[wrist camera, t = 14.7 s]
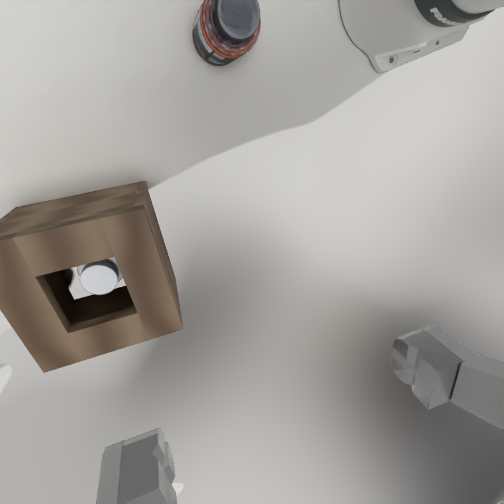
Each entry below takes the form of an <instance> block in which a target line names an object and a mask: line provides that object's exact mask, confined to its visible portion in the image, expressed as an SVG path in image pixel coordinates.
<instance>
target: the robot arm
mask: <svg viewBox="0 0 504 504" xmlns="http://www.w3.org/2000/svg"><path fill="white" fill-rule="evenodd" d="M339 1H340V10H341V16H342V20H343V23H344V26H345V29H346V31H347V33H348V35H349V37H350V38H351V40H352V41H353V42H354V44H355V45H356V46H357V47H358V48H360V49H361V50H362V51H363V52H365V53H366V54H367V55H368V57H369V59H370V61H371V63H372V65H373V67H374V69H375V70H376V71H377V72H378V73H383V72H386V71H389V70H391V69H393V68H396V67H398V66H400V65H403V64H405V63H408V62H410V61H412V60H415V59H417V58H420V57H422V56H425V55H427V54H430V53H432V52H434V51H437V50H439V49H441V48H444V47H446V46H449V45H451V44H454V43H456V42H458V41H460V40H461V39H462V38H463V37H464V35H465V33H466V32H467V30H468V28H469V25H470V24H473V23H475V22H478V21H480V20H482V19H483V18H484V17H485V16H486V15H487V14H489V13H491V12H492V11H493V10H495V9H496V8H500V7H504V0H339ZM390 58H391V62H389V59H390ZM393 347H394V348H395V349H396V350H395V351H394V353H393V354H392V355H391V364H392V367H393V370H394V371H395V373H396V374H397V376H398V377H399V378H400V379H401V380H402V381H403V382H405V383H407V384H409V385H411V386H412V390H413V393H414V394H415V395H416V396H417V398H419V400H420V401H421V402H422V403H423V404H424V405H425V406H426V407H427V408H428V409H431V408H433V407H435V406H438V405H440V404H443V403H445V402H448V401H450V400H451V401H450V402H451V403H453V404H455V405H457V406H459V407H461V408H462V409H465V410H466V411H468V412H470V413H472V414H474V415H476V416H478V417H480V418H482V419H483V420H485V421H487V422H489V423H491V424H493V425H495V426H497V427H499V428H501V429H503V430H504V362H502V361H499V360H495V359H492V358H489V357H486V356H483V355H479V356H477V355H475V354H474V353H472V352H471V351H470V350H468V349H467V348H466V347H464V346H463V345H462V344H460V343H459V342H458V341H456V340H455V339H454V338H452V337H451V336H450V335H448V334H447V333H446V332H444V331H443V330H442V329H440V328H439V327H438V326H435V325H429V326H426V327H424V328H422V329H419V330H415V331H413V332H410V333H408V334H405V335H403V336H400V337H397V338H396V339H395V340H394V341H393ZM174 477H175V471H174V462H173V457H172V452H171V449H170V446H169V444H168V443H167V442H164V434H163V432H162V430H161V428H158V429H155V430H152V431H149V432H146V433H143V434H141V435H138V436H135V437H133V438H130V439H127V440H123V441H121V442H118V443H116V444H113V445H110V446H107V447H106V448H105V450H104V453H103V455H102V463H101V470H100V477H99V485H98V492H97V500H96V504H177V499H176V492H175V490H174V488H173V486H172V482H173V480H174ZM497 504H504V500H503V501H501V502H499V503H497Z"/></svg>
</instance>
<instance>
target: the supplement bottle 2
mask: <svg viewBox="0 0 504 504" xmlns="http://www.w3.org/2000/svg"><path fill="white" fill-rule="evenodd" d="M259 31H260V9H259V4H258V1H257V0H204V2H203V4H202V6H201V8H200V10H199V11H198V14H197V16H196V19H195V22H194V25H193V41H194V45H195V48H196V50H197V52H198V53H199V55H200V56H201V57H202V58H203V59H204V60H205V61H206V62H208V63H210V64H212V65H216V66H222V65H226V64H228V63H230V62H232V61H234V60H235V59H237V58H239V57H240V56H242V55H243V54H245V53H246V52H248V51H249V50H250V49H251V48H252V47H253V45H254V44H255V42H256V40H257V38H258V35H259Z"/></svg>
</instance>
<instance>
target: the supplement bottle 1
mask: <svg viewBox="0 0 504 504" xmlns="http://www.w3.org/2000/svg"><path fill="white" fill-rule="evenodd" d="M77 270H78V274H79V276H80V283H81V285H82V287H83V288H84V289H85V290H86V291H87V292H89V293H92V294H97V295H101V294H106V293H109V292H110V291H112V290H113V289H114V288H115V287H116V285H117V283H118V282H119V281H120V280H121V279H122V277H123V276H122V274H121V271H120V269H119V267H118V264H117V262H116V259H115V257H112V258H108V259H104V260H100V261H96V262H92V263H88V264H84V265H80V266H77Z"/></svg>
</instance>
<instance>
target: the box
mask: <svg viewBox="0 0 504 504" xmlns="http://www.w3.org/2000/svg"><path fill="white" fill-rule="evenodd" d="M112 257H115V259H116V262H117V264H118V267H119V269H120V271H121V274H122V276H123V279H124V281H125V283H126V286H123V287H119V288H116V289H113V290H112V291H110V292H109V293H106V294H101V295H97V294H94V295H90V296H87V297H83V298H79V299H75V300H74V298H73V296H72V294H71V293H70V291H69V289H68V287H67V285H66V283H65V281H64V279H63V277H62V275H61V274H60V272H59V271H60V270H64V269H68V268H72V267H76V266H80V265H84V264H88V263H92V262H96V261H100V260H104V259H108V258H112ZM0 310H1V312H2V313H3V314H4V316H5V317H6V319H7V320H8V322H9V323H10V325H11V326H12V327H13V329H14V330H15V332H16V333H17V335H18V336H19V337H20V339H21V340H22V342H23V343H24V345H25V346H26V348H27V349H28V351H29V352H30V354H31V355H32V356H33V358H34V359H35V360H36V362H37V363H38V365H39V367H40V368H41V369H42V371H43V372H44V373H45V372H48V371H51V370H55V369H58V368H61V367H64V366H67V365H71V364H74V363H76V362H80V361H83V360H86V359H89V358H93V357H96V356H99V355H102V354H106V353H109V352H112V351H115V350H118V349H122V348H125V347H127V346H131V345H134V344H138V343H140V342H144V341H147V340H150V339H153V338H157V337H160V336H163V335H166V334H169V333H172V332H176V331H179V330H182V329H183V324H182V318H181V312H180V306H179V299H178V293H177V286H176V279H175V276H174V272H173V269H172V266H171V263H170V259H169V256H168V253H167V250H166V247H165V243H164V240H163V237H162V234H161V231H160V227H159V224H158V221H157V218H156V214H155V211H154V208H153V205H152V201H151V198H150V195H149V192H148V189H147V185H146V182H145V181H143V182H138V183H133V184H129V185H124V186H119V187H114V188H109V189H104V190H99V191H94V192H89V193H84V194H80V195H75V196H70V197H65V198H60V199H55V200H50V201H45V202H40V203H36V204H31V205H26V206H21V207H16V208H15V209H13V210H12V211H11V212H9V213H8V214H7V215H5V216H4V217H3V218H1V219H0Z"/></svg>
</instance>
